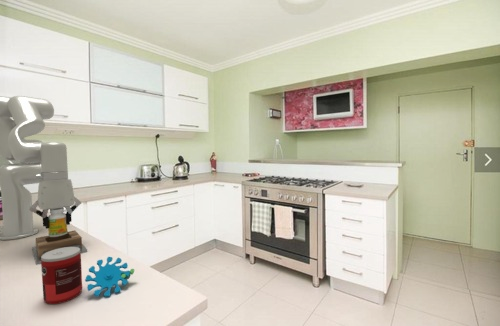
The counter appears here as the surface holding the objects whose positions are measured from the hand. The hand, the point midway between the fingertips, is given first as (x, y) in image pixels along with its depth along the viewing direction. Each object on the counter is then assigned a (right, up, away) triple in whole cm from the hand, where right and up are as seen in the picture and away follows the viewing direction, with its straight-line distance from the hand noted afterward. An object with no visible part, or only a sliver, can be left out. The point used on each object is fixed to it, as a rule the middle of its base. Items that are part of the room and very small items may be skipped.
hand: (57, 225), depth 90 cm
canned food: (+24, -11, -28) cm, 38 cm away
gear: (+34, -10, -26) cm, 44 cm away
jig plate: (0, -9, 0) cm, 9 cm away
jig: (0, -9, 0) cm, 9 cm away
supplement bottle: (0, -4, 0) cm, 4 cm away
